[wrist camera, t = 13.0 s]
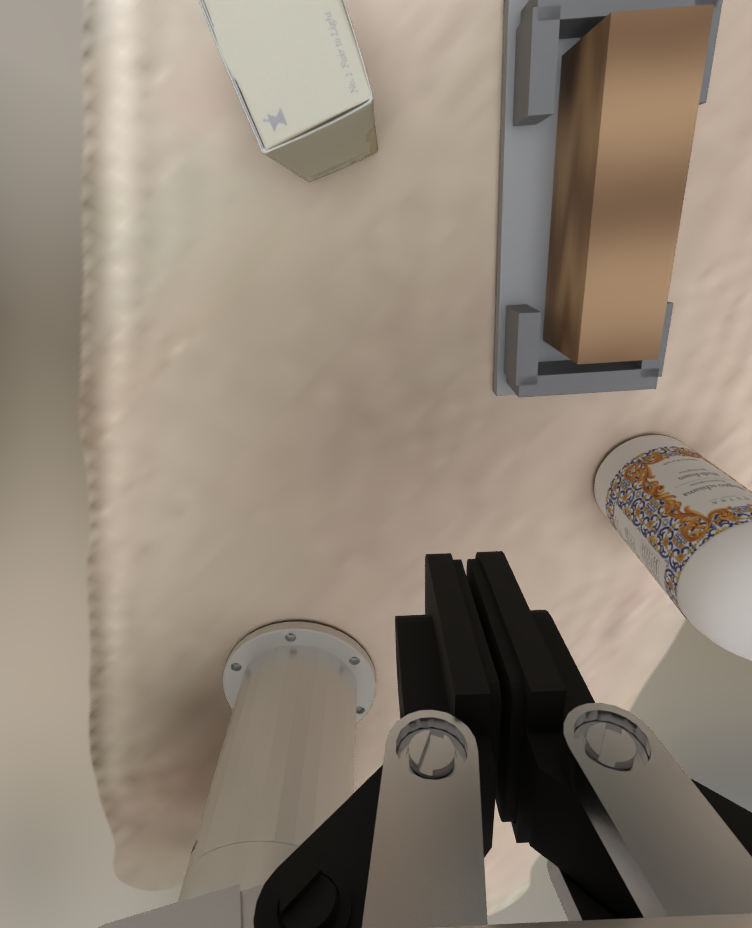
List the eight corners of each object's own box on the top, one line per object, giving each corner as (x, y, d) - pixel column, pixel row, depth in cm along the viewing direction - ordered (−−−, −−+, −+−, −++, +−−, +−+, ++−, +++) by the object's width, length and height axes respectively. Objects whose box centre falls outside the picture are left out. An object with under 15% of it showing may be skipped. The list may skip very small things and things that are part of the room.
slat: (609, 335, 32) (657, 359, 26) (542, 340, 32) (577, 364, 27) (643, 49, 26) (714, 4, 21) (561, 55, 26) (611, 11, 21)
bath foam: (698, 426, 35) (1040, 640, 17) (686, 515, 38) (968, 780, 20) (593, 438, 36) (821, 661, 18) (589, 525, 39) (781, 795, 20)
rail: (633, 382, 34) (664, 401, 31) (493, 391, 34) (507, 411, 31) (689, -16, 26) (741, -55, 22) (504, -1, 26) (525, -37, 22)
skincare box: (379, 152, 29) (383, 108, 18) (304, 185, 29) (263, 162, 18) (335, 15, 26) (307, -134, 15) (254, 54, 27) (171, -62, 16)
